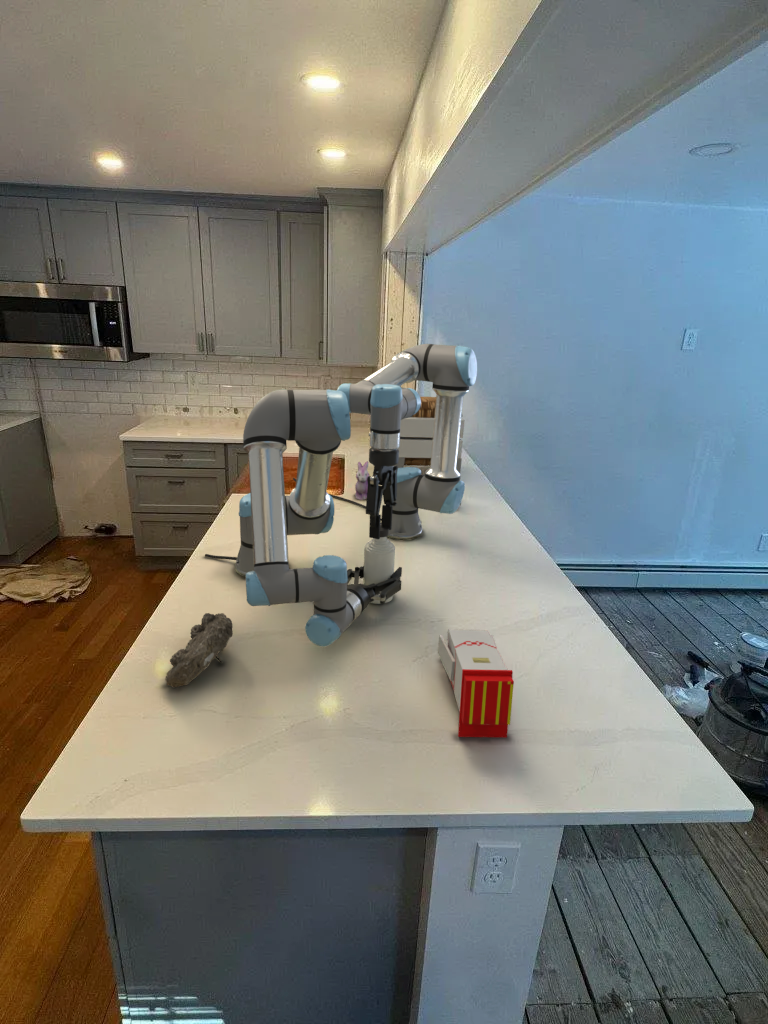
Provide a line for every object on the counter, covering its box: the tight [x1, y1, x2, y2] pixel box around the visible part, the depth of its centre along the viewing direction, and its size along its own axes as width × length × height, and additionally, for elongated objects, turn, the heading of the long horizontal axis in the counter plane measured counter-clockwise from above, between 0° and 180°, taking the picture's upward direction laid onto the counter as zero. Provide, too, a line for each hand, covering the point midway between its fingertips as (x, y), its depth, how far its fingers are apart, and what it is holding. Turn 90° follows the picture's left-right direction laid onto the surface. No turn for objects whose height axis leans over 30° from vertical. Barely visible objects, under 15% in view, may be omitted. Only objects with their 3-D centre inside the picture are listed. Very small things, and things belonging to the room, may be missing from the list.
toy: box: [437, 628, 515, 738], centre depth 117 cm, size 12×13×30 cm
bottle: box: [362, 537, 396, 605], centre depth 153 cm, size 8×8×20 cm
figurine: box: [354, 460, 370, 501], centre depth 234 cm, size 9×10×15 cm
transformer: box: [394, 385, 465, 475], centre depth 268 cm, size 34×33×41 cm
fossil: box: [165, 612, 234, 688], centre depth 123 cm, size 22×10×15 cm
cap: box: [380, 525, 389, 538], centre depth 149 cm, size 4×4×2 cm
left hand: (385, 568), depth 158 cm, fingers closed on bottle, 8 cm apart
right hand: (380, 533), depth 150 cm, fingers open, 7 cm apart
